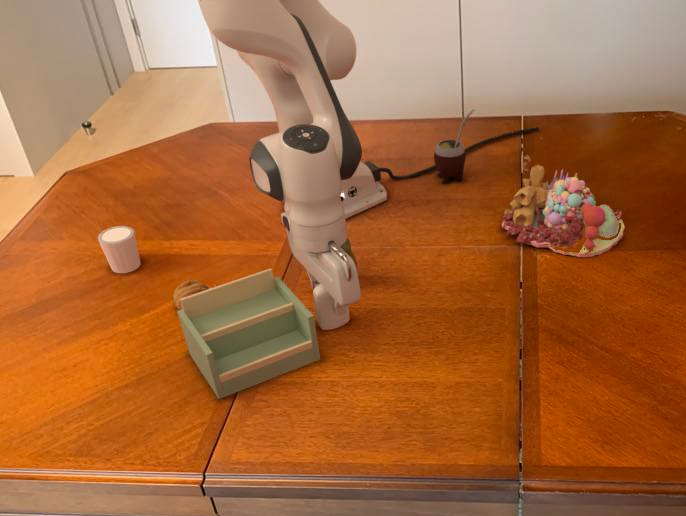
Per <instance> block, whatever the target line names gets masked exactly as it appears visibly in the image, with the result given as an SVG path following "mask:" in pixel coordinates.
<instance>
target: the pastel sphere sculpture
mask: <svg viewBox="0 0 686 516" xmlns="http://www.w3.org/2000/svg"><path fill="white" fill-rule="evenodd" d="M544 176H545V167H544V166H542V165H539V164H536V165H534V166H532V167H531V169H530V173H529V178H522V182H523V186H524V187H522V188H520V189H518V191H517V192H516V193H515V194H514V196H513V199H512V200H511V202H510V203H508V205H507V207H506V208H505V210H504V212H503V213H504V215H503V216H502V219H503V221H502V222H501V228H502V229H504V230H507V231H506V234H505V236H506V237H507V236H512V235H517V234H518V236H517V238H516V240H515V243H518V244H523V245H526V246H530V245H531V246H533V247H535V248H549V250H551V251H553V252H554V253H559V254H561V255H564V256H567V255H568V256H572V257H578V258H591V257H595V256H600V255H602V254H603V253H605V252H609V251H610V250H611V249H612V248H613V247H614V246H616V245H617V244H618V242H619V241H620V240H621V239H622V238H623V237H624V231H625V228H626V226H625V224H624V221H623V219H622V218H621V216H622V210H620V211H619V209H617V210H616V212H614V210H613V209H612V208H611V207H610V206H609V205H607V204H605V203H604V204H600V205H596V204H597V202H596V200H595V196H594V194H593V193H592V192H591V190H590V188H589V187H586V182H585V181H584V180H583V179H580V180H579V177H578V173H577V172H576V173H575V174H574V176H572V177H571V176H569V172H567V173H566V175H564V168H562V169H561V170H560V175H559V178H558V177H557V176H558V169H556V170H555V172H554V176H553V179H552V181H551V182H550V184H549V182H548V181H546V182H542V180H543V179H544ZM566 202H567V203H566ZM570 209H571V210H570ZM575 209H577V210H576V211H575ZM579 209H580V210H579ZM578 210H579V211H578ZM613 212H614V213H613ZM574 213H576V214H574ZM577 213H579V214H577ZM615 213H616V214H617V213H618V215H617V216H615V215H614V214H615ZM564 216H565V217H564ZM574 216H575V217H574ZM616 217H617V218H618V219H620V218H621V219H620V220H617V218H616ZM561 223H563V224H562V225H561ZM568 223H569V224H568ZM619 223H621V229H620V232H619V234H618V236H617V237H616V238H614V239H612V240H601V239H599V238H597V237H598V236H599V235H600V236H601V237H602V236H603V237H605V238H610V237H613V236H615V235H616V234H617V233H618V229H619ZM561 228H562V230H563V231H566V232H563V231H562V230H561ZM583 228H584V229H585V237H586V238H587V240H586V241H585V243H584V245H583V247H582V249H581V250H580V252H579V253H573V252H564V251H561V250H555V249H554V248H553V247H550V246H551V245H550V243H551V244H553V246H554V247H555V246H556V247H558V246H563V245H565V246H567V247H572V246H573V245H574V243H576V242H578V241H579V240H581V239H582V237H583V236H584V234H583V232H582V229H583ZM544 244H549V245H544ZM594 245H595V247H594ZM584 248H585V250H584ZM592 248H593V251H591V252H589V250H590V249H592ZM588 252H589V253H588ZM585 253H588V254H585Z"/></svg>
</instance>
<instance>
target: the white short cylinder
mask: <svg viewBox="0 0 686 516" xmlns="http://www.w3.org/2000/svg"><path fill="white" fill-rule="evenodd" d="M97 241H98V243H99V246H100V247H101V249H102V251H103V254H104V256H105V258H106V261H107V262H108V264H109V266H110V268H111V269H110V270H112V272H114V273H117V274H127V273H132V272H133V271H136V270H137V269H138V268H140V266H141V264H142V263H141V259H140V254H139V249H138V243H137V239H136V234H135V230H134V228H132V227H130V226H127V225H118V226H113V227H109V228H107V229H104V230H103V231H101V232H100V233H98V235H97Z"/></svg>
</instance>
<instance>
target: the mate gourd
mask: <svg viewBox="0 0 686 516" xmlns="http://www.w3.org/2000/svg"><path fill="white" fill-rule="evenodd" d="M474 111H475V109H474V108H473V109H472V110H470V111H469V112H468V113H467V114H466V115H465V117H463V119H462V120H461V123H460V128H459V131H458V134H457V139H444V140H440V141H439V142H438V143H437V145H436V147H435V149H434V153H433V161H434V165H436V167H437V168H436V170H437V171H438V173H437V177H439V178H442V181H441V184H442V185H446V184H447V183H448V182H450V181H451V180H452V181H455V182H461V183H462V182H464V178H463V174H464V168H465V163H466V158H467V154H466V153H467V152H466V153H465V149H466V148H465V147H464V145H463V144H462V142H461V141H460V140H461V137H462V132H463V129H464V127H465V125H466V121H467V120H468V118H469V117H471V115H472V114H473V113H474Z"/></svg>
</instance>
